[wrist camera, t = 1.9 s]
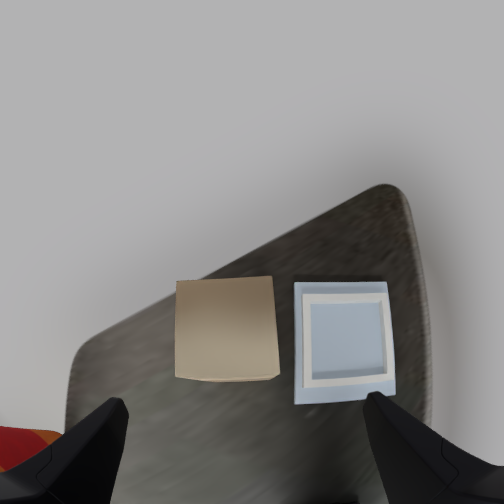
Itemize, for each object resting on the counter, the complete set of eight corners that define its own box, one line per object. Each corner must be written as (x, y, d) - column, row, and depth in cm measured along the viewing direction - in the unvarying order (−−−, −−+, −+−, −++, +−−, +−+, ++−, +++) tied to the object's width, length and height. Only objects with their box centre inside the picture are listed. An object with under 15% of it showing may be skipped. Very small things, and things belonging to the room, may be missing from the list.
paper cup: (54, 494, 14) (-43, 515, 2) (23, 429, 17) (-80, 418, 5) (105, 484, 16) (-3, 523, 3) (68, 411, 19) (-52, 398, 6)
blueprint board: (391, 394, 19) (399, 394, 18) (293, 403, 20) (296, 404, 18) (383, 285, 24) (389, 278, 23) (293, 285, 24) (295, 278, 23)
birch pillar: (270, 379, 21) (280, 373, 11) (214, 382, 21) (175, 376, 11) (266, 326, 23) (271, 275, 13) (212, 329, 23) (176, 280, 13)
